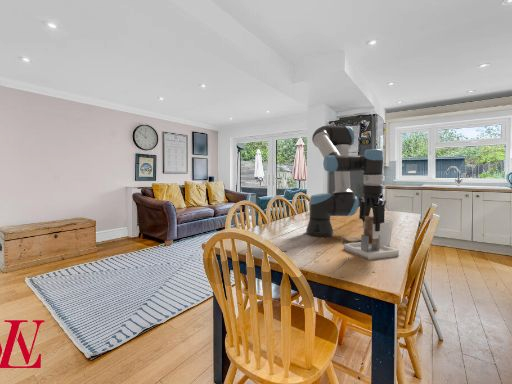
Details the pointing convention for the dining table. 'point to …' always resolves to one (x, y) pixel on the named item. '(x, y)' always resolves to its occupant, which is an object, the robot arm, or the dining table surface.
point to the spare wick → (351, 240)
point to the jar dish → (370, 249)
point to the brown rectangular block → (369, 229)
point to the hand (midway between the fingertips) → (370, 236)
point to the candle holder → (385, 232)
